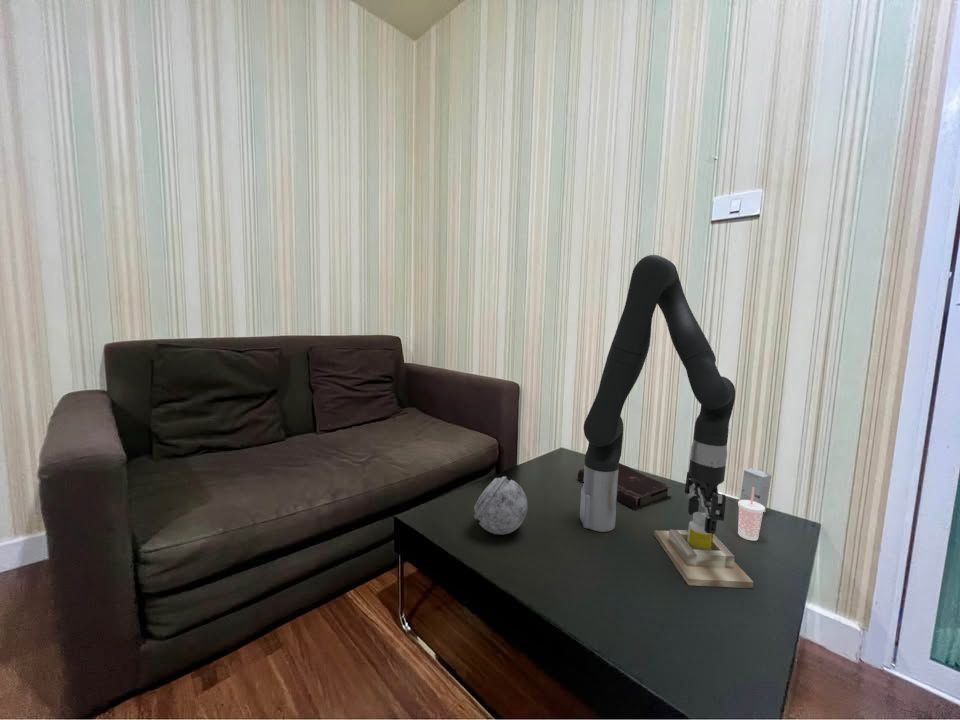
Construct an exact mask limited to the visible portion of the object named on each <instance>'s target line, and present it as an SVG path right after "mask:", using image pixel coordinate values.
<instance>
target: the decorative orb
mask: <svg viewBox="0 0 960 720" xmlns="http://www.w3.org/2000/svg"><path fill="white" fill-rule="evenodd" d="M473 509H474V515H473V517H474V518H475V520H478V521H479V523H478V524H479V525H480V526H481V528H483V530H485V531H487V532H489V533H491V534H493V535H498V536H499V535H501V536H502V535H507V534H511V533H512V532H513V533H514V532H515V531H516V530H518V529H519V528H520V526H521V525H522V524H523V523H524V521H525V519H526V516H527V514H528V499H527V496H526V493H525V491H524V490H523V488H522V486H521V485H519V484H518V483H517V482H516V481H515V480H513V479H510V480H509V479H508V477H507V476H502V477H495V478H494V479H493V480H492V481H491V482H490V483H489V484H488V485H487V486H486V487H485V488H484V490H483V491H482V493H481V494H480V495H479V497H478V499H477V500H476V503H475V504H474V506H473Z"/></svg>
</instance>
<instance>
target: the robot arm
mask: <svg viewBox="0 0 960 720" xmlns="http://www.w3.org/2000/svg"><path fill="white" fill-rule="evenodd" d="M677 269H678V268H677V267H676V264H674V263H673V262H672V261H671V260H670V259H668V258H666V257H663V256H660V255H657V254H648V255H646V256H644V257H643V258H641V259H640V260H639V261H638V262H637V263H636V264H635V266H634V268H633V270H632V273H631V277H630V281H629V287H628V290H627V291H628V292H627V295H626V299H625V300H626V301H625V304H624V308H623V310H622V313H621V316H620V319H619V322H618V324H617V328H616V330H615V334H614V336H613V339H612V341H611V345H610V347H609V350H608V354H607V357H606V360H605V363H604V367H603V371H602V374H601V378H600V382H599V386H598V389H597V390H598V391H597V393H596V396H595V398H594V401H593V403H592V405H591V407H590V409H589V412H588V413H587V416H586V418H585V420H584V423H583V435H584V436H585V439H586V440H587V441H588V446H587V449H586V452H585V455H584V465H583V466H584V468H583V469H584V483H583V482H582V483H583V484H582V485H583V486H581V489H580V503H579V504H580V507H579V508H580V509H579V519H580V522H581V523H582V527H583V529H589V530H592V531H595V532H599V533H601V532H602V533H605V532H611V531H613V530H614V529H615V526H616V515H617V502H618V501H617V486H618V471H619V463H620V461H621V457H622V452H623V451H622V450H623V439H624V422H623V421H624V420H623V418H622V417H621V415H622V411H623V408H624V405H625V402H626V400H627V398H628V397H629V395H630V393H631V391H632V390H633V388H634V386H635V384H636V383H637V380H638V378H639V377H640V375H641V373H642V370H643V367H644V364H645V362H646V359H647V357H648V353H649V351H650V346H651V337H652V325H653V324H652V322H653V316H654V314H655V313H654V312H655V310H656V307H657V305H658V307H659V308H660V311H661V313H662V314H663V317H664V319H665V322H666V326H667V330H668V334H669V336H670V340H671V342H672V344H673V347H674V350H675V351H676V353H677V355H678V357H679V359H680V361H681V363H682V365H683V367H684V368H685V370H686V376H687V379H688V381H689V385H690V387H691V391H692V394H693V395H694V398H695V399H696V401H697V402H698V403H699V404H700V410H699V414H698V416H697V417H696V419H695V423H694V429H693V430H694V431H693V438H692V439H693V440H692V443H691V448H690V456H689V465H688V471H687V472H686V479H685V486H684V492H685V493H684V494H686V495H687V499H688V507H687V513H688V514H689V515H690V516H691V515H692V516H693V513H694V512H699V507H700V506H699V505H700V504H701V506H702V508H703V509H704V511H705V512H704V513H706V520H705V529H704V531H705V532H706V533H709V534H714V535H715V534H716V532H717V531H716V530H717V523H718V521H721V522H722V521H724V520H725V513H726V512H725V511H726V501H727V499H726V498H727V497H726V494H720V493H719V491H718V490H719V489H718V486H719V485H720V484H723V483H725V477H726V468H727V466H726V465H727V459H728V439H729V433H730V432H729V430H730V429H729V427H730V421H731V420H730V419H731V417H732V412H733V409H734V404H735V400H736V387H735V385H734V383H733V382H732V380H730V379H729V378H727V377H726V376H722V375H721V374H720V372H719V370H718V367H717V365H716V362H717V361H716V360H717V359H716V355H715V353H714V350H713V349H712V346H711V344H710V343H709V341H708V339H707V337H706V336H705V333H704V332H703V330H702V328H701V326H700V324H699V322H698V321H697V319H696V317H695V315H694V313H693V311H692V309H691V307H690V305H689V303H688V300H687V298H686V295H685V293H684V289H683V287H682V283H681V280H680V276H679V272H678V270H677ZM700 502H701V503H700Z"/></svg>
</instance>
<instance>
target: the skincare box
mask: <svg viewBox="0 0 960 720" xmlns="http://www.w3.org/2000/svg"><path fill="white" fill-rule="evenodd" d="M742 475H743V477H742V482H741V489H740V496H739V500H751V494H752V487H754V495H753V501H754V502H757V503H760V504H761V505H763V506H764V507H765V511H764V513H766V512H767V507H768V500H769V492H770V488H771V481H772V475H771V474H769V473H767V472H764V471H762V470H759V469H756V468H754V467H751V468H746V469H744V470H743V474H742Z"/></svg>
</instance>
